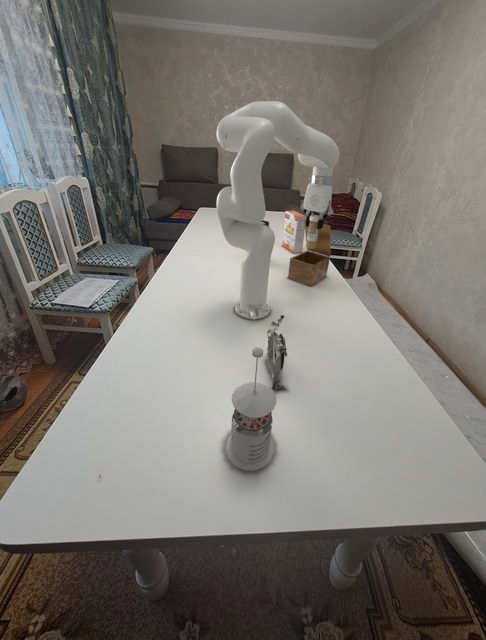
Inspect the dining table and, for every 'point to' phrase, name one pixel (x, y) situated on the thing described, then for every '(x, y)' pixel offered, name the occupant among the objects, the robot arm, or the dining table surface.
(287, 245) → the cracker box
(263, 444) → the french press
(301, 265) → the wooden box
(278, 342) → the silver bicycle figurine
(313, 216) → the sprinkles bottle
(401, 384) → the dining table surface
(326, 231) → the lid
